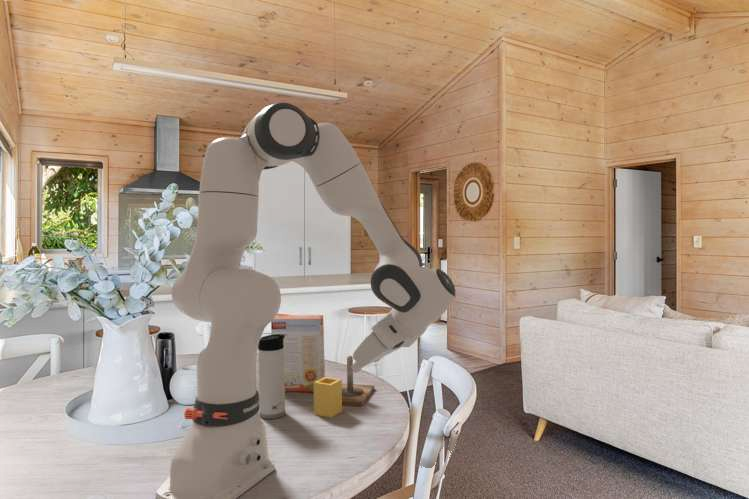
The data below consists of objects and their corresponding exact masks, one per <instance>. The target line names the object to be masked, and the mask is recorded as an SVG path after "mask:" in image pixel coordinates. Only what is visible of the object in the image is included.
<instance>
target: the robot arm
mask: <svg viewBox="0 0 749 499" xmlns="http://www.w3.org/2000/svg"><path fill="white" fill-rule="evenodd" d="M291 162H293V163H296V164H298V165H299V166H300V167H301V168H303V170H305V172H306V173H307V174H308V176H309V178H310V180H311V182H312V184H313V186H314V188H315V190H316V192H317V194H318V195H319V197H320V199H321V201H322V202H324V204H325V205H326V206H327V208H328V209H329V210H330V211H331V212H332V213H335V214H337V215H340V216H347V217H352V218H354V219H356V220H357V221H358V222H359V223H360V224H361V225H362V227H363V228H364V229H365V231H366V233H367V234H368V236H369V238H370V240H371V241H372V242H373V244H374V245H375V247H376V249H377V252H378V258H379V259H378V264H377V265H376V267H375V268H374V271H373V272H372V274H371V277H370V288H371V292H372V293H373V295H374V296H375V297H376V298H377V299H378V300H380V301H381V302H383V303H384V304H385V305H387V306H388V307H390V308H392V309H391V310H390V311H389V312H388V313H386V315H385V316H384V317H383V318H381V319H380V320H378V321H377V322H376V323H375V324H374V325H372V327H371V332H370V333H369V334H368V335H367V336H366V337H365V338H364V339H363V340H362V341H361V343H360V344H359V345H358V346H357V347H356V349H355V350H354V351H353V352H352V357H353V361H355V362H353V365H352V367H351V368H352V370H353V373H355V374H356V373H358V372H360V371H361V370H362V369H363V368H365V367H366V366H368V365H370V364H373V363H378V362H379V361H380V360H381V359H383V358H384V357H386V356H388V355H389V354H392V353H394V352H395V351H398V350H399V349H401V348H410V347H411V346H412V345H413V344H415V342H416V341H417V340H418V339H420V337H422V336H423V334H425V333H426V331H427V329H428V327H429V326H431V324H433V323H436V322H437V321H438V320H439V319H440V318H441V317H442V316H443V315H444V314H445V312H446V311H447V310H448V309H449V308H450V307H451V305H452V304H453V303H454V301H455V299H456V287H455V285H454V283H453V281H452V279H451V278H450V276H449V275H448V274H447V273H446V272H445V271H443V270H442V269H440V268H428V267H423V260H422V259H423V258H422V257H421V254H420V253H419V251H418V250H417V249H416V248H415V247H414V246H413V245H412V244H410V243H409V242H408V241H407V240H406V239H404V237H403V236H402V235H401V233H400V232H399V230H398V228H397V226H396V225H395V224H394V222H393V220H392V219H391V217H390V215H389V213H388V212H387V210H386V208H385V206H384V204H383V203H382V202H381V200H380V199H379V197H378V194H377V192H376V191H375V189H374V186H373V184H372V181H371V180H370V177H369V176H368V174H367V171H366V169H365V167H364V165H363V163H362V162H361V159H360V158H359V156H358V154H357V153H356V151H355V149H354V147H353V146H352V145H351V143H350V142H349V140H348V139H347V137H346V136H345V135H344V134H343V132H342V131H341V130H340V129H339V128H338V126H336V125H335V124H333V123H331V122H320V123H317V122H316V120H314V119H313V118H311V117H309V116H308V115H307V114H306V112H305V111H303V110H302V109H301V108H300V107H298V106H296V105H294V104H292V103H288V102H275V103H272V104H270V105H269V104H268V105H267V106H265V107H264V108H263V109H262V110H261V111H259V112H258V113H256V114H255V115H254V116H253V117H252V118H251V119H250V121H249V122H248V123H247V125H246V126H245V127H244V129H243V130H242V132H241V133H240V135H239V137H232V136H226V137H225V136H224V137H220V138H217V139H215V140H213V141H211V142H210V143H209V144H208V145H207V148H206V150H205V154H204V157H203V162H202V169H201V172H200V173H201V174H200V180H199V192H198V193H199V194H198V212H197V226H196V234H195V239H194V243H193V246H192V249H191V252H190V254H189V259H188V261H187V262H186V265H185V268H184V269H183V270H182V272H181V273H179V275H178V276H177V277H176V278H175V280H174V282H173V284H172V287H171V288H172V289H171V299H172V302H173V304H174V306H175V308H176V309H177V310H178V311H180V312H181V313H182V314H184V315H186V316H187V317H190V318H191V319H193V320H195V321H199V322H200V321H201V322H204V323H210V325H211V327H210V334H209V339H208V342H207V345H206V347H205V348H203V349H202V350H201V351H200V352H199V353H198V355H197V358H196V387H197V389H196V390H197V396H196V397H195V401H194V404H193V408H192V407H186V408H185V410H184V412H183V416H184V417H183V418H184V419H185V420H192V422H191V424H190V427H189V428H188V429H187V431H186V433H185V434H184V437H183V438H182V440H181V442H180V444H179V445H178V447H177V449H176V450H175V452H174V454H173V456H172V458H171V462H170V470H169V474H170V475H169V476H168V477H167V478H166V479H165V481H164V482H163V483H162V484H161V485H160V486H159V488H157V490H156V491H155V498H156V499H238V498H239V497H240V496H242V495H243V494H244V493H245V492H247V491H248V490H250V489H251V488H252V487H254V486H255V485H256V484H257V483H259V482H260V481H261V480H263V479H264V478H266V477H267V476H268V475H269V474H271V473H272V472H274V471H275V469H276V466H275V462H274V461H273V460H272V459H270V458H269V448H268V438H267V430H266V429H267V428H266V425H265V424H264V422H263V420H262V419H261V417H260V415H259V410H260V409H259V403H260V399H259V390H257V358H258V345H259V341H260V338H261V337H262V336H263V332H264V330H265V329H266V327H268V325H269V324H270V323H271V321H272V320H273V319H274V318H275V316H277V315H278V313H279V310H280V307H281V303H282V302H281V301H282V295H281V289H280V286H279V285H278V283H277V282H276V280H275V279H274V278H273V277H271V276H269V275H267V274H264V273H262V272H260V271H257V270H254V269H249V268H240V264H241V261H242V257H243V255H244V253H245V251H246V249H247V248H248V246H250V245H251V244H252V243H253V242H254V241H255V240H256V237H257V234H258V220H259V219H258V218H259V217H258V216H259V198H260V197H259V195H260V194H259V191H260V188H259V187H260V186H259V185H260V183H259V182H260V178H261V175H262V173H263V171H264V170H271V169H275V168H277V167H280V166H283V165H286V164H288V163H289V164H290V163H291Z"/></svg>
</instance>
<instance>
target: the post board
mask: <svg viewBox="0 0 749 499" xmlns="http://www.w3.org/2000/svg"><path fill="white" fill-rule="evenodd" d="M353 361H354V358H353V355H348V356H347V358H346V378H347V380H346V382H347V383H343V382H342V406H354V407H355V406H356V407H358V406H359V407H362V406H363V405H364V403H365V402H366V401H367V399H368V398H369V397H370V395H372V393H373V391H374V390H375V384H374V385H371V384H357V383H356V384H355V383H354V371H353V370H352V368H351V367H352V365H353V364H354V362H353Z"/></svg>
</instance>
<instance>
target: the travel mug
mask: <svg viewBox="0 0 749 499" xmlns="http://www.w3.org/2000/svg"><path fill="white" fill-rule="evenodd" d="M283 338H285V335H284V334H275V335H271V334H269V335H264V336H261V338H260V341H259V345H258V349H257V366H258V368H257V369H258V370H257V374H258V393H259V399H260V403H259V411H258V415H259V417H260V418H262V419H266V420H275V419H278V418H282V417H283V416H284V415H285V414H286V391H285V378H284V345H283Z"/></svg>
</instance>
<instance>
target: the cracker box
mask: <svg viewBox="0 0 749 499" xmlns="http://www.w3.org/2000/svg"><path fill="white" fill-rule="evenodd" d="M270 323H271V324H270V325H271V326H270V327H271V329H270V330H271V334H270V335H275V334H284V335H285V338H283V345H284V378H285V392H307V393H309V392H310V393H311V392H312V393H314V382H316V381H318V380H320V379H322V378H324V377H326V375H325V373H326V371H325V367H326V366H325V333H324V332H325V330H324V329H325V327H324V315H323V314H316V315H315V314H309V315H307V314H301V315H300V314H291V315H289V314H287V315H286V314H283V315H279V314H277V315H276V316H275V318H274V319H273V320H272V321H271V322H270Z"/></svg>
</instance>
